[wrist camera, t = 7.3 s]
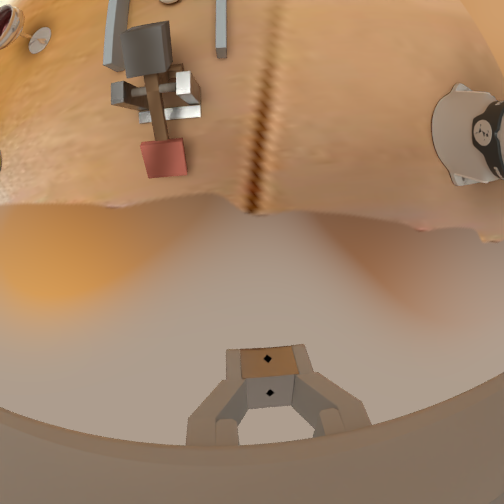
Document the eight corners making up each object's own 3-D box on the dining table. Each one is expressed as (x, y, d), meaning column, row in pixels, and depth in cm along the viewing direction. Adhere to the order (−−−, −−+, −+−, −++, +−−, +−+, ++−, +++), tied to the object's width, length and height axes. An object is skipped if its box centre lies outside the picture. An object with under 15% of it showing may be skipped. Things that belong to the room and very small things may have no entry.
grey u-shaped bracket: (226, -23, 26) (226, -40, 22) (226, 58, 32) (226, 47, 27) (123, -9, 25) (112, -22, 21) (117, 71, 31) (103, 65, 26)
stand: (200, 87, 33) (190, 70, 24) (201, 117, 35) (190, 110, 25) (139, 94, 33) (111, 83, 23) (140, 123, 34) (111, 120, 25)
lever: (181, 14, 24) (166, 24, 18) (192, 138, 40) (186, 179, 34) (141, 21, 24) (114, 35, 18) (159, 141, 39) (147, 182, 34)
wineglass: (57, 43, 27) (14, 26, 16) (27, 66, 27) (-19, 57, 16) (53, 15, 24) (13, -5, 13) (23, 37, 25) (-20, 25, 14)
